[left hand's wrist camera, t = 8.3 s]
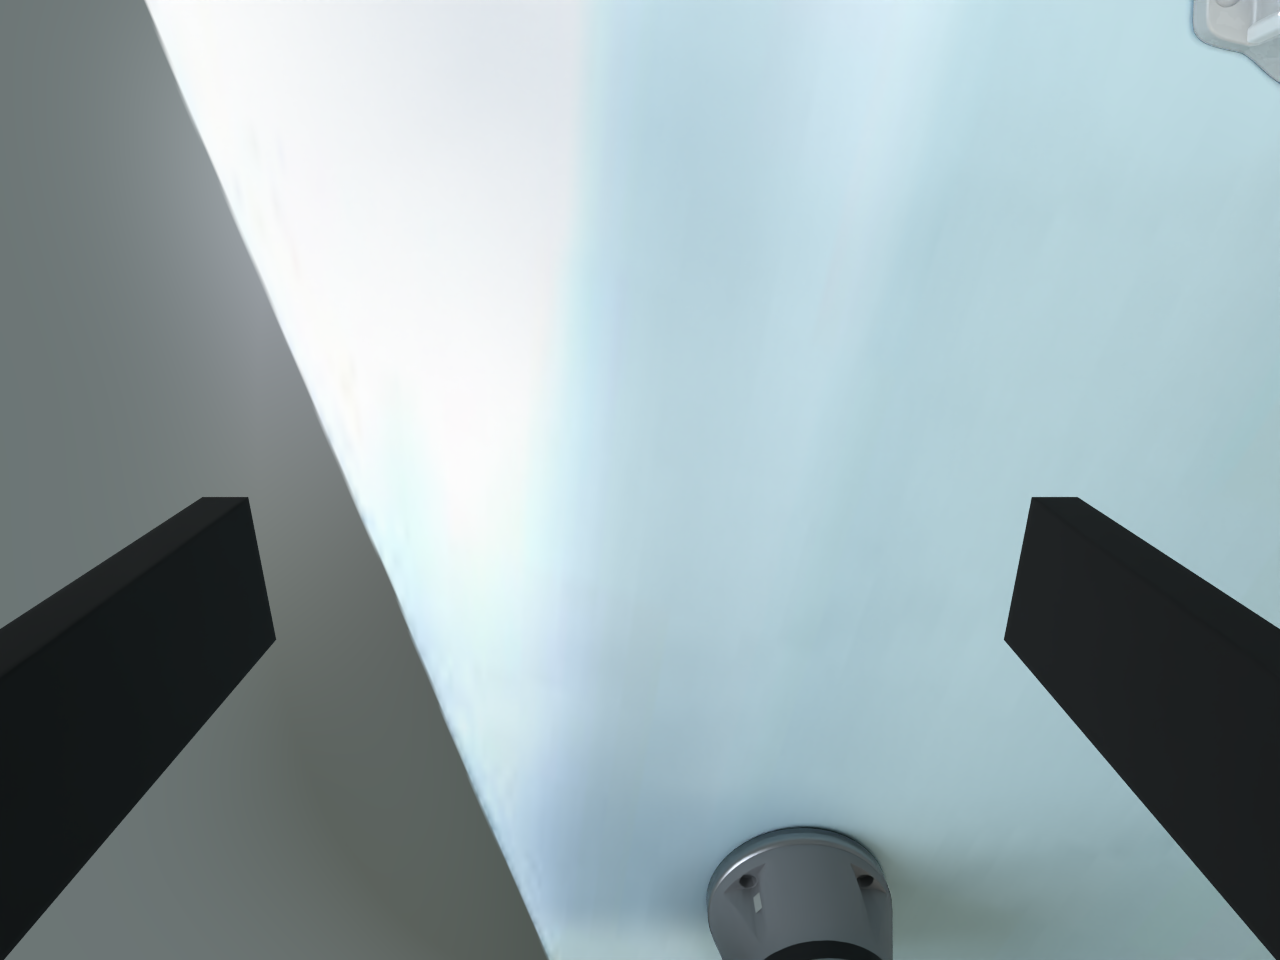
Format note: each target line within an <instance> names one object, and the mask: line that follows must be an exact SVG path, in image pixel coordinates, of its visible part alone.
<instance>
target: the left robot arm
mask: <svg viewBox="0 0 1280 960" xmlns="http://www.w3.org/2000/svg"><path fill="white" fill-rule="evenodd" d="M275 640H276V637H275V632H274V627H273V622H272V616H271V611H270V606H269V601H268V596H267V591H266V586H265V581H264V576H263V571H262V565H261V560H260V555H259V550H258V545H257V540H256V535H255V530H254V525H253V520H252V514H251V509H250V504H249V499H248V497H202V498H201V499H199V500H197V501H196V502H194V503H193V504H191V505H190V506H188V507H187V508H185V509H184V510H182V511H181V512H179V513H177V514H176V515H174V516H173V517H171V518H170V519H168V520H167V521H165V522H164V523H162V524H161V525H159V526H158V527H156V528H155V529H153V530H151V531H150V532H148V533H147V534H145V535H144V536H142V537H141V538H139V539H138V540H136V541H135V542H133V543H132V544H130V545H128V546H127V547H125V548H124V549H122V550H121V551H119V552H118V553H116V554H115V555H113V556H112V557H110V558H108V559H107V560H105V561H104V562H102V563H101V564H99V565H98V566H96V567H95V568H93V569H92V570H90V571H89V572H87V573H86V574H84V575H82V576H81V577H79V578H78V579H76V580H75V581H73V582H72V583H70V584H69V585H67V586H66V587H64V588H63V589H61V590H60V591H58V592H56V593H55V594H53V595H52V596H50V597H49V598H47V599H46V600H44V601H43V602H41V603H40V604H38V605H37V606H35V607H33V608H32V609H30V610H29V611H27V612H26V613H24V614H23V615H21V616H20V617H18V618H17V619H15V620H14V621H12V622H10V623H9V624H7V625H6V626H4V627H3V628H1V629H0V960H4V959H5V958H6V957H7V955H8V954H9V953H10V952H11V951H12V950H13V948H14V947H15V946H16V945H17V944H18V943H19V941H20V940H21V939H22V938H23V937H24V935H25V934H26V933H27V932H28V931H29V930H30V928H31V927H32V926H33V925H34V924H35V923H36V921H37V920H38V919H39V918H40V917H41V915H42V914H43V913H44V912H45V911H46V910H47V908H48V907H49V906H50V905H51V904H52V903H53V901H54V900H55V899H56V898H57V897H58V895H59V894H60V893H61V892H62V891H63V890H64V888H65V887H66V886H67V885H68V884H69V883H70V881H71V880H72V879H73V878H74V877H75V875H76V874H77V873H78V872H79V871H80V870H81V868H82V867H83V866H84V865H85V864H86V863H87V861H88V860H89V859H90V858H91V857H92V855H93V854H94V853H95V852H96V851H97V850H98V848H99V847H100V846H101V845H102V844H103V843H104V841H105V840H106V839H107V838H108V837H109V835H110V834H111V833H112V832H113V831H114V830H115V828H116V827H117V826H118V825H119V824H120V823H121V821H122V820H123V819H124V818H125V817H126V815H127V814H128V813H129V812H130V811H131V810H132V808H133V807H134V806H135V805H136V804H137V803H138V801H139V800H140V799H141V798H142V797H143V795H144V794H145V793H146V792H147V791H148V790H149V788H150V787H151V786H152V785H153V784H154V783H155V781H156V780H157V779H158V778H159V777H160V776H161V774H162V773H163V772H164V771H165V770H166V768H167V767H168V766H169V765H170V764H171V763H172V761H173V760H174V759H175V758H176V757H177V756H178V754H179V753H180V752H181V751H182V750H183V748H184V747H185V746H186V745H187V744H188V743H189V741H190V740H191V739H192V738H193V737H194V736H195V734H196V733H197V732H198V731H199V730H200V728H201V727H202V726H203V725H204V724H205V723H206V721H207V720H208V719H209V718H210V717H211V716H212V714H213V713H214V712H215V711H216V710H217V708H218V707H219V706H220V705H221V704H222V703H223V701H224V700H225V699H226V698H227V697H228V696H229V694H230V693H231V692H232V691H233V690H234V688H235V687H236V686H237V685H238V684H239V683H240V681H241V680H242V679H243V678H244V677H245V676H246V674H247V673H248V672H249V671H250V670H251V668H252V667H253V666H254V665H255V664H256V663H257V661H258V660H259V659H260V658H261V657H262V656H263V654H264V653H265V652H266V651H267V650H268V648H269V647H270V646H271V645H272V644H273V643H274V641H275ZM1004 640H1005V641H1006V643H1007V644H1008V645H1009V646H1010V647H1011V649H1012V650H1013V651H1014V652H1015V653H1016V654H1017V656H1018V657H1019V658H1020V659H1021V660H1022V661H1023V663H1024V664H1025V665H1026V666H1027V667H1028V668H1029V670H1030V671H1031V672H1032V673H1033V674H1034V676H1035V677H1036V678H1037V679H1038V680H1039V681H1040V683H1041V684H1042V685H1043V686H1044V687H1045V688H1046V690H1047V691H1048V692H1049V693H1050V694H1051V696H1052V697H1053V698H1054V699H1055V700H1056V701H1057V703H1058V704H1059V705H1060V706H1061V707H1062V708H1063V710H1064V711H1065V712H1066V713H1067V714H1068V716H1069V717H1070V718H1071V719H1072V720H1073V721H1074V723H1075V724H1076V725H1077V726H1078V727H1079V728H1080V730H1081V731H1082V732H1083V733H1084V734H1085V736H1086V737H1087V738H1088V739H1089V740H1090V741H1091V743H1092V744H1093V745H1094V746H1095V747H1096V748H1097V750H1098V751H1099V752H1100V753H1101V754H1102V756H1103V757H1104V758H1105V759H1106V760H1107V761H1108V763H1109V764H1110V765H1111V766H1112V767H1113V768H1114V770H1115V771H1116V772H1117V773H1118V774H1119V776H1120V777H1121V778H1122V779H1123V780H1124V781H1125V783H1126V784H1127V785H1128V786H1129V787H1130V788H1131V790H1132V791H1133V792H1134V793H1135V794H1136V796H1137V797H1138V798H1139V799H1140V800H1141V801H1142V803H1143V804H1144V805H1145V806H1146V807H1147V808H1148V810H1149V811H1150V812H1151V813H1152V814H1153V815H1154V817H1155V818H1156V819H1157V820H1158V821H1159V823H1160V824H1161V825H1162V826H1163V827H1164V828H1165V830H1166V831H1167V832H1168V833H1169V834H1170V835H1171V837H1172V838H1173V839H1174V840H1175V841H1176V843H1177V844H1178V845H1179V846H1180V847H1181V848H1182V850H1183V851H1184V852H1185V853H1186V854H1187V855H1188V857H1189V858H1190V859H1191V860H1192V861H1193V863H1194V864H1195V865H1196V866H1197V867H1198V868H1199V870H1200V871H1201V872H1202V873H1203V874H1204V875H1205V877H1206V878H1207V879H1208V880H1209V881H1210V883H1211V884H1212V885H1213V886H1214V887H1215V888H1216V890H1217V891H1218V892H1219V893H1220V894H1221V895H1222V897H1223V898H1224V899H1225V900H1226V901H1227V903H1228V904H1229V905H1230V906H1231V907H1232V908H1233V910H1234V911H1235V912H1236V913H1237V914H1238V915H1239V917H1240V918H1241V919H1242V920H1243V921H1244V923H1245V924H1246V925H1247V926H1248V927H1249V928H1250V930H1251V931H1252V932H1253V933H1254V934H1255V935H1256V937H1257V938H1258V939H1259V940H1260V941H1261V943H1262V944H1263V945H1264V946H1265V947H1266V948H1267V950H1268V951H1269V952H1270V953H1271V954H1272V955H1273V957H1274V958H1275V959H1276V960H1280V629H1279V628H1277V627H1276V626H1274V625H1273V624H1271V623H1270V622H1268V621H1267V620H1265V619H1263V618H1262V617H1260V616H1259V615H1257V614H1256V613H1254V612H1253V611H1251V610H1250V609H1248V608H1247V607H1245V606H1244V605H1242V604H1240V603H1239V602H1237V601H1236V600H1234V599H1233V598H1231V597H1230V596H1228V595H1227V594H1225V593H1224V592H1222V591H1221V590H1219V589H1217V588H1216V587H1214V586H1213V585H1211V584H1210V583H1208V582H1207V581H1205V580H1204V579H1202V578H1201V577H1199V576H1198V575H1196V574H1194V573H1193V572H1191V571H1190V570H1188V569H1187V568H1185V567H1184V566H1182V565H1181V564H1179V563H1178V562H1176V561H1175V560H1173V559H1172V558H1170V557H1168V556H1167V555H1165V554H1164V553H1162V552H1161V551H1159V550H1158V549H1156V548H1155V547H1153V546H1152V545H1150V544H1149V543H1147V542H1145V541H1144V540H1142V539H1141V538H1139V537H1138V536H1136V535H1135V534H1133V533H1132V532H1130V531H1129V530H1127V529H1126V528H1124V527H1122V526H1121V525H1119V524H1118V523H1116V522H1115V521H1113V520H1112V519H1110V518H1109V517H1107V516H1106V515H1104V514H1103V513H1101V512H1099V511H1098V510H1096V509H1095V508H1093V507H1092V506H1090V505H1089V504H1087V503H1086V502H1084V501H1083V500H1081V499H1080V498H1078V497H1032V499H1031V504H1030V509H1029V514H1028V519H1027V525H1026V530H1025V535H1024V540H1023V545H1022V550H1021V555H1020V560H1019V565H1018V571H1017V576H1016V581H1015V586H1014V591H1013V596H1012V601H1011V606H1010V611H1009V616H1008V622H1007V627H1006V632H1005V637H1004ZM707 912H708V921H709V927H710V931H711V934H712V936H713V939H714V942H715V944H716V946H717V948H718V951H719V953H720V955H721V957H722V959H723V960H893V952H892V902H891V895H890V891H889V888H888V886H887V883H886V880H885V877H884V875H883V872H882V870H881V868H880V866H879V864H878V862H877V861H876V859H875V858H874V857H873V856H872V855H871V853H869V852H868V851H867V850H866V849H865V848H864V847H863V846H861V845H860V844H858V843H857V842H855V841H854V840H852V839H850V838H848V837H846V836H843V835H840V834H838V833H834V832H831V831H827V830H821V829H813V828H792V829H784V830H778V831H774V832H770V833H767V834H764V835H761V836H758V837H756V838H754V839H751V840H749V841H748V842H746V843H744V844H742V845H741V846H739V847H738V848H736V849H735V850H734V851H732V852H731V853H730V854H729V855H728V856H727V857H726V858H725V859H724V860H723V861H722V862H721V863H720V864H719V866H718V867H717V869H716V870H715V872H714V874H713V876H712V877H711V880H710V883H709V886H708V890H707Z"/></svg>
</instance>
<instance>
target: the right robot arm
mask: <svg viewBox="0 0 1280 960" xmlns="http://www.w3.org/2000/svg"><path fill="white" fill-rule="evenodd" d="M1193 28H1194V32H1195V34H1196V36H1197V37H1198V38H1199V39H1200V40H1201V41H1203V42H1204V43H1206V44H1209V45H1211V46H1214V47H1218V48H1222V49H1226V50H1230V51H1236V52H1241V53H1243V54H1244V55H1246V56H1248V57H1249V58H1250V59H1252V60H1253V61H1254V62H1255V63H1256V64H1257V65H1258V66H1259V67H1261V68H1262V69H1263V70H1264V71H1265V72H1266V73H1267V74H1268V75H1269V76H1271V77H1272V78H1273V79H1274V80H1276V81H1277V82H1279V83H1280V0H1194V3H1193Z"/></svg>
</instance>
